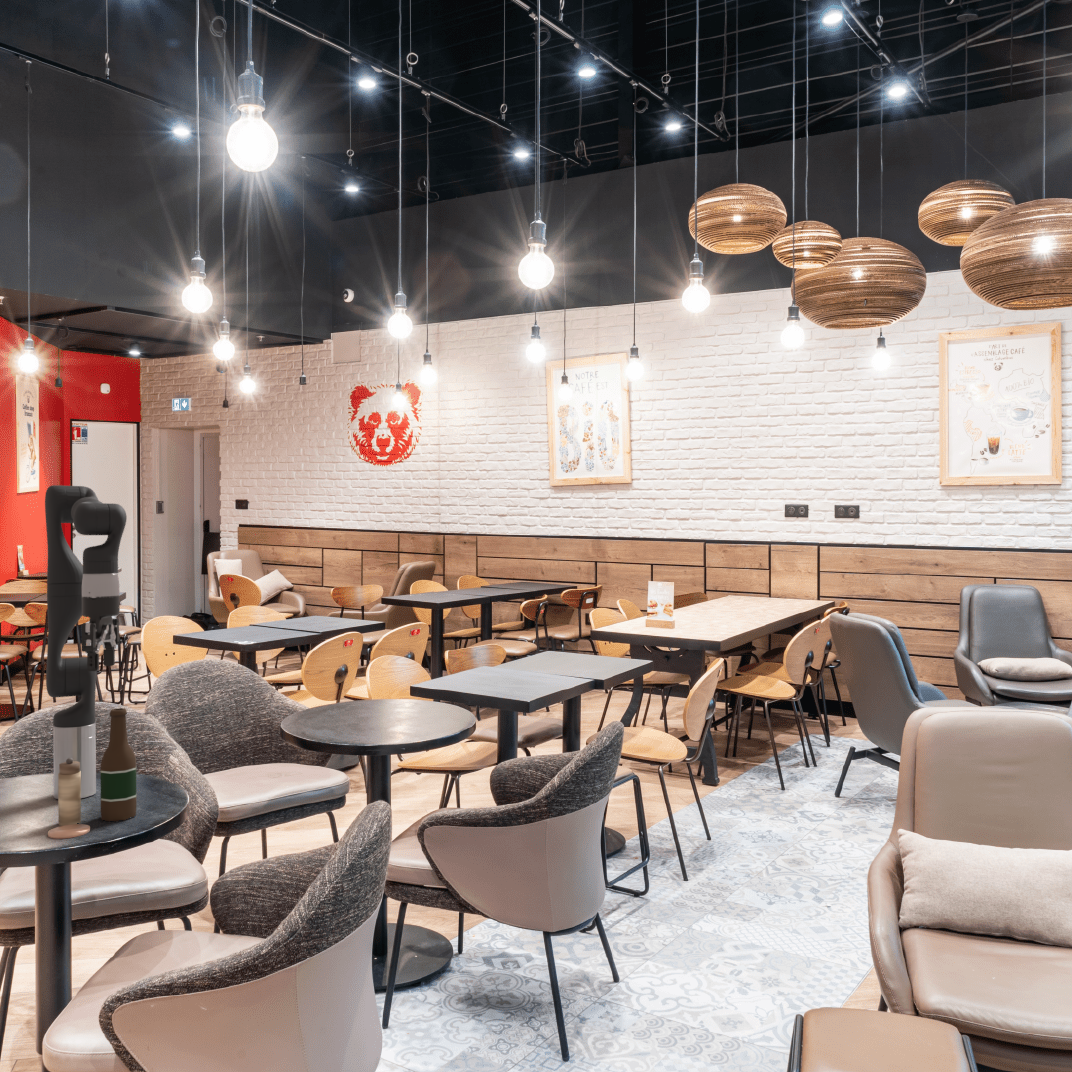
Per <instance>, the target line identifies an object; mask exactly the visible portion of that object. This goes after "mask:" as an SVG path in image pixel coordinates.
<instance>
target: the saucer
mask: <svg viewBox="0 0 1072 1072" xmlns="http://www.w3.org/2000/svg"><path fill="white" fill-rule="evenodd" d="M90 831H91V826H90V825H89V824H84V823H79V824H72V825H64V826H60V825H59V826H56V827H54V828H52V829H49V830H48V832H47V837H48V838H51V839H57V840H58V839H60V840H62V839H70V838H71V839H73V838H76V837H81V836H84V835H86V834H88V833H90Z"/></svg>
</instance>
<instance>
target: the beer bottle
mask: <svg viewBox="0 0 1072 1072" xmlns="http://www.w3.org/2000/svg"><path fill="white" fill-rule="evenodd" d="M127 713H128V712H127V709H126V708H121V707H120V708H112V709H110V711H109V716H110V727H109V728H110V730H109V742H108V746H107V747H106V749H105V751H104V753H103V756H102V757H101V761H100V815H101V816H100V819H101V821H103V820H105V822H110V821H114V822H120V821H119V820H123V821H127V820H129V819H128V818H130V817H133V818H135V817H136V815H137V806H138V805H137V798H138V797H137V759H136V758H137V757H136V754H135V751H134V750H133V748H132V747H131V745H130V744H129V741H128V729H127V718H126V717H127V716H126V715H127ZM134 816H135V817H134ZM126 819H127V820H126ZM130 819H131V818H130Z"/></svg>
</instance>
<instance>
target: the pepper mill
mask: <svg viewBox="0 0 1072 1072" xmlns="http://www.w3.org/2000/svg"><path fill="white" fill-rule="evenodd" d="M57 800H58V801H57V803H58V805H57V808H58V813H57V814H58V815H57V816H58V817H57V818H58V821H57V822H58V824H59V825H58V826H59V827H60V826H64V825H72V824H77V823H79V824H81V822H82V798H81V771H80V762H77V761H73V759H72V758H68V759H67V760H66V762H64V763H60V764H59V773H58V799H57Z"/></svg>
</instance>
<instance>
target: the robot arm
mask: <svg viewBox="0 0 1072 1072" xmlns="http://www.w3.org/2000/svg"><path fill="white" fill-rule="evenodd" d="M45 491H46V492H45V496H44V512H45V528H46V539H47V543H46V544H47V568H46V569H47V571H46V573H47V575H46V579H47V580H46V603H47V606H46V607H47V628H48V629H47V651H46V652H47V653H46V669H45V671H46V672H45V681H46V682H45V684H46V685H45V686H46V687H45V688H46V691H47V694H48V696H49V697H51V698H65V697H67V698H68V697H81V698H80V699H79V701H78V702H76V703H75V704H73V705H70V707H67V708H65V709H62V710H60V711H57V712H56V713H54V715H53V719H52V724H53V725H52V726H53V728H52V730H53V732H52V733H53V737H52V738H53V741H52V742H53V744H52V745H53V748H52V749H53V798H54V799H56V800H58V773H59V764H60V763H64V762H66V760H67V759H68V758H72V759H73V761H77V762H80V771H81V799H84V798H88V797H91V796H93V795H95V794H96V793H97V757H96V756H97V755H96V754H97V752H96V751H97V748H96V745H97V744H96V739H97V738H96V737H97V736H96V735H97V733H96V731H97V730H96V727H97V725H96V687H97V672H98V671H99V670H100V653H99V652H100V649H101V646H102V648H103V649H102V650H103V651H102V652H103V653H102V654H103V662H102V663H103V666H104V667H113V666H115V664H116V661H115V660H116V658H115V657H116V652H115V651H116V650H115V649H117V646H118V645H120V623H119V622H120V620H119V618H113V617H117V616H119V615H120V613H121V611H120V606H121V605H120V580H119V549H120V545H121V541H122V537H123V535H124V534H123V533H124V531H125V529H126V528H125V527H126V524H127V512H126V510H125V508H124V507H123V506H122V505H120V504H119V503H106V502H105V503H103V501H101V500H99V498H98V496H97V495H96V493H95V491H94V490H93V489H92V488H90V487H87V486H83V485H82V486H81V485H65V484H63V485H62V484H59V485H58V484H57V485H55V484H54V485H50V486H48V488H47V489H46V490H45ZM62 524H73V526H74V529H75V531H76V533H78V534H79V535H82V536H107V539H106V540H105V541H104V542H103V543H102V544H99V545H98V544H97V545H93V546H88V547H86V548H84V550H83V551H82V563H81V561H80V560H79V558H78V557H77V556H76V554H75V553H74V551H73V550H72V549H71V546H70V545H69V544H68V542H67V540H66V537H65V534H64V530H63V527H62ZM82 617H84V618H89V621H88V622H87V623H86V622H85V623H82V625H81V651H82V652H85V654H86V657H85V656H83V657H81V656H80V657H69V658H68V657H67V658H63V657H62V652H63V649H64V646H65V644H66V642H67V640H68V638H69V636H70V634H71V632H73V629H74V628H75V626H76V625H77V624H78V622H79V621H80V619H81V618H82Z"/></svg>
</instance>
